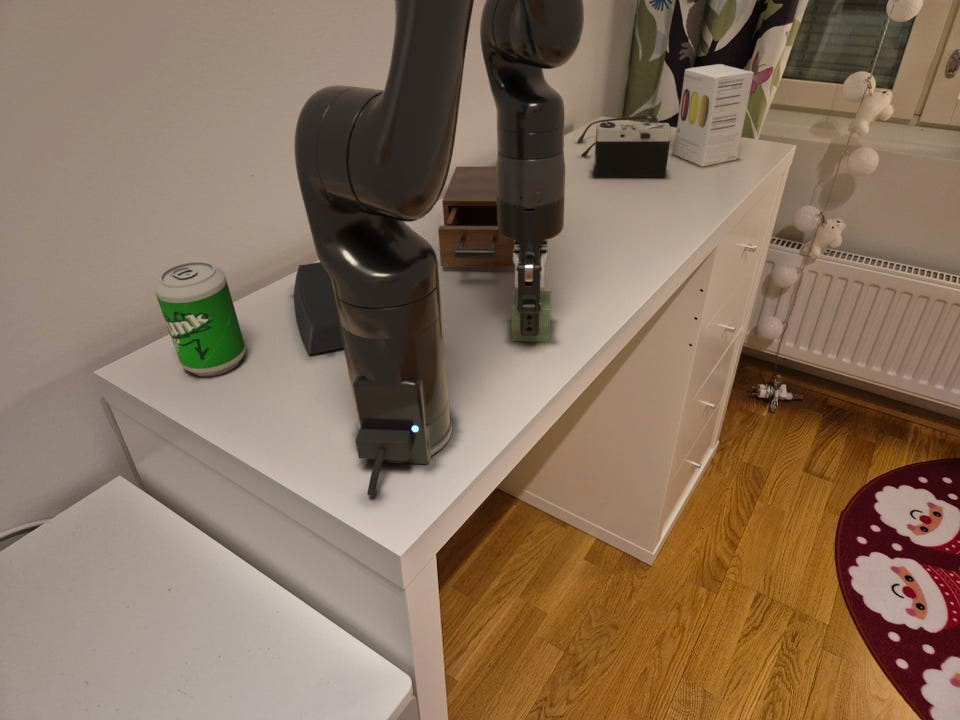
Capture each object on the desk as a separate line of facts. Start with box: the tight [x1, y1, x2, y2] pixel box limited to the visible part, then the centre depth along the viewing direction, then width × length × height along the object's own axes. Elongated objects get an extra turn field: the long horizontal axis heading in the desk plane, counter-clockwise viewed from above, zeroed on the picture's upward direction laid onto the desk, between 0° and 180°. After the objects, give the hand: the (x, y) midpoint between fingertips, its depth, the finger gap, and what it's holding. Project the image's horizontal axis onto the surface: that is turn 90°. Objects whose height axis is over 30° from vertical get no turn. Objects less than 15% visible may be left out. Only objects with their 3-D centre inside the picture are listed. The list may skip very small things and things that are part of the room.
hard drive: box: [293, 261, 344, 355], centre depth 87 cm, size 13×19×4 cm
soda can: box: [153, 260, 247, 377], centre depth 76 cm, size 8×8×12 cm
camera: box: [593, 120, 672, 179], centre depth 127 cm, size 14×9×10 cm, turn 76°
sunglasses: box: [577, 114, 659, 157], centre depth 140 cm, size 16×17×5 cm
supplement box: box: [672, 63, 755, 167], centre depth 130 cm, size 10×9×17 cm
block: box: [510, 289, 552, 343], centre depth 81 cm, size 5×5×5 cm
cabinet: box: [441, 166, 497, 226], centre depth 107 cm, size 16×13×8 cm
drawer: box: [437, 206, 515, 268], centre depth 97 cm, size 20×12×6 cm, turn 174°
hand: (530, 315), depth 82 cm, fingers open, 8 cm apart
